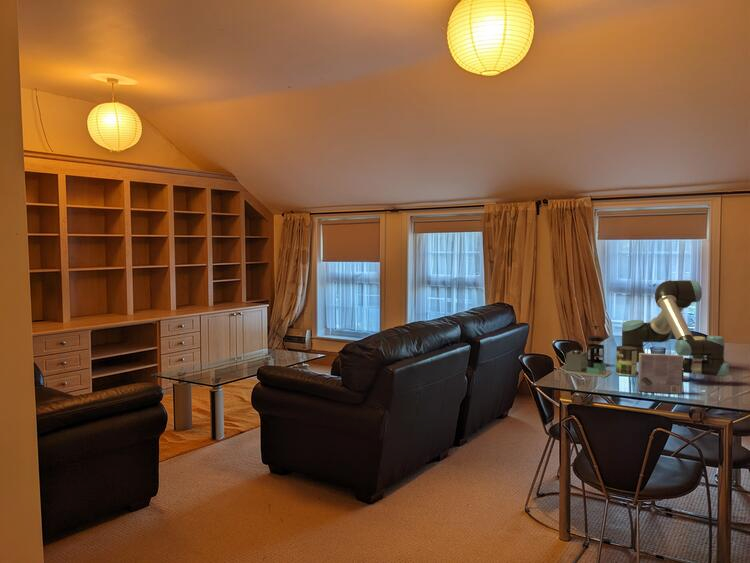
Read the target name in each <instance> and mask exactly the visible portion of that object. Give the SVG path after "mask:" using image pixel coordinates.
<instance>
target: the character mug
mask: <svg viewBox="0 0 750 563" xmlns="http://www.w3.org/2000/svg"><path fill="white" fill-rule="evenodd" d="M692 336H693V335H692ZM693 338H694V339H695V340H706V337H705V336H696V335H695V336H693ZM692 358H693V359H694V358H695V359H700V358H702V359H705V356H692Z"/></svg>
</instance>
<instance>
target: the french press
mask: <svg viewBox="0 0 750 563" xmlns="http://www.w3.org/2000/svg"><path fill="white" fill-rule="evenodd" d="M591 327H593V328H594V330H595V334H594V335H593V334H592V335H587V336H586V337H587V340H588V341H590V342H594V343H589V344H586V352H587V367H591V368H594V363H597V364H605V363H604V362H605V360H604V358H605V345H604V344H600V343H599V344H597V342H604V338H605V336H602V335H597V328H600V327H601V326H600V325H591ZM589 349H590V350H589ZM600 350H602V354H600ZM600 358H602V359H600Z"/></svg>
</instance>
